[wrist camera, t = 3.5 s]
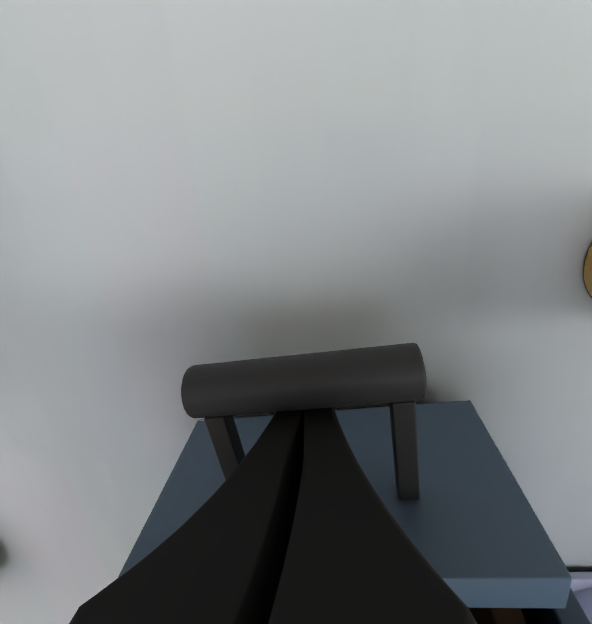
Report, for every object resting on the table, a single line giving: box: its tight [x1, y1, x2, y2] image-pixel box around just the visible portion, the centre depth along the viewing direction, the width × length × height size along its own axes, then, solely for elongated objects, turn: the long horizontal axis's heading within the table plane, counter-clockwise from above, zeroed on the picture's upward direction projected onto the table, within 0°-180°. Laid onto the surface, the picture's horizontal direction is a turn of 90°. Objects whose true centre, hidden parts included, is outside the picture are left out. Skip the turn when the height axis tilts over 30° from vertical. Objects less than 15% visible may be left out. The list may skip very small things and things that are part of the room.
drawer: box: [118, 343, 572, 624], centre depth 13 cm, size 17×11×6 cm, turn 10°
